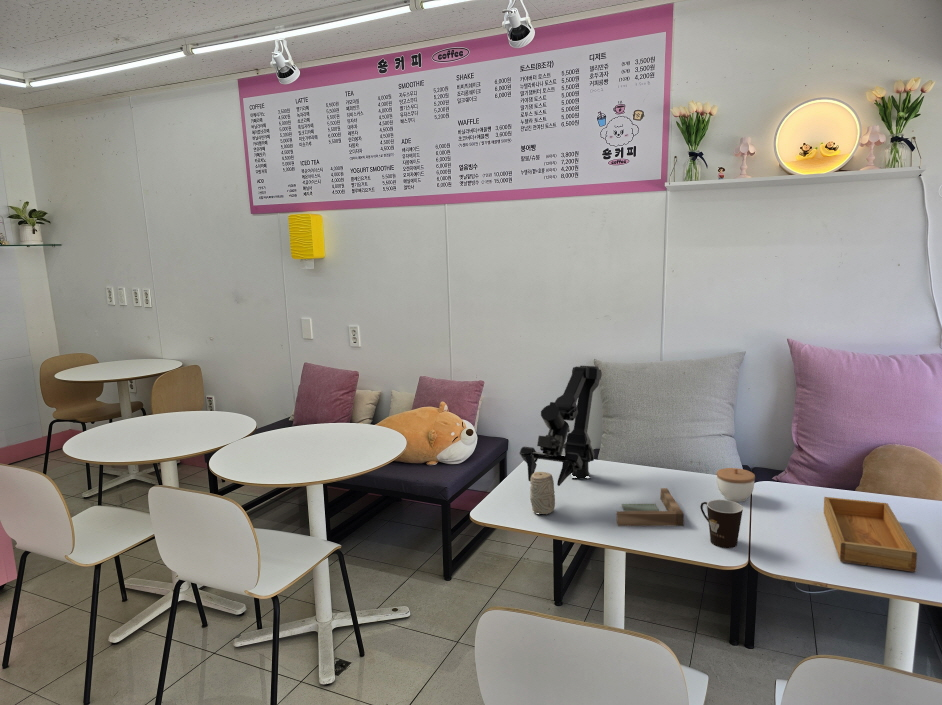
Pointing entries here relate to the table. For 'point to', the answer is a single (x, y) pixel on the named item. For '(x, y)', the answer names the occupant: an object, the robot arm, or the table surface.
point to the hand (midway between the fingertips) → (543, 483)
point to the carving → (542, 493)
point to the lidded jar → (735, 483)
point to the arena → (652, 513)
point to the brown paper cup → (723, 522)
